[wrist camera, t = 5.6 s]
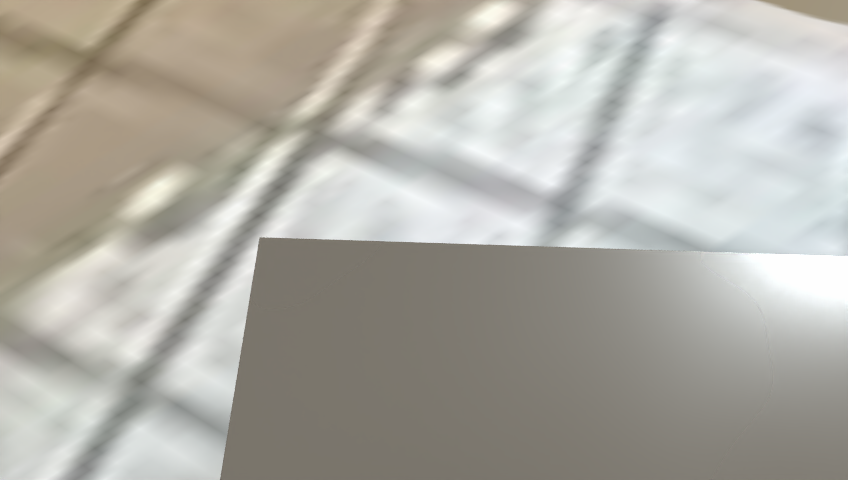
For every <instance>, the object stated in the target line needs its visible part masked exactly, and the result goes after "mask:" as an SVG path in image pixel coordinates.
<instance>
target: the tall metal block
mask: <svg viewBox="0 0 848 480" xmlns="http://www.w3.org/2000/svg"><path fill="white" fill-rule="evenodd" d="M220 480H848V256H818V255H787V254H756V253H725V252H694V251H663V250H632V249H601V248H570V247H539V246H508V245H477V244H446V243H415V242H384V241H353V240H322V239H291V238H260V239H259V245H258V251H257V257H256V263H255V270H254V276H253V282H252V288H251V294H250V300H249V306H248V312H247V319H246V325H245V331H244V337H243V343H242V349H241V355H240V362H239V368H238V374H237V380H236V386H235V392H234V398H233V404H232V411H231V417H230V423H229V429H228V435H227V441H226V447H225V453H224V460H223V466H222V472H221V478H220Z"/></svg>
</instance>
